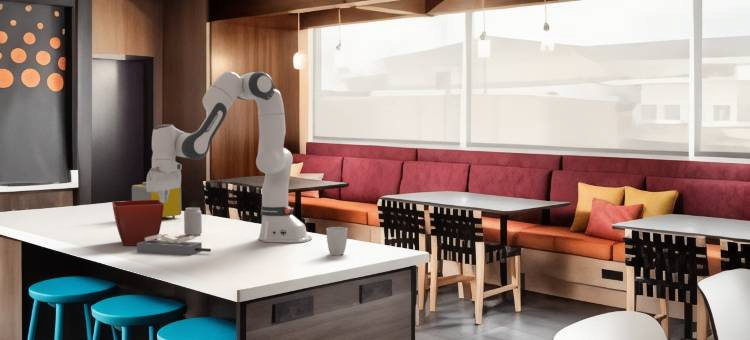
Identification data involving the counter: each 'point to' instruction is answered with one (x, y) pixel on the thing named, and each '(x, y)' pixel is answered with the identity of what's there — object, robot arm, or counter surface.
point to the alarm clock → (170, 206)
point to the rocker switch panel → (170, 247)
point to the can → (192, 221)
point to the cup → (336, 240)
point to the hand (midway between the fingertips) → (163, 201)
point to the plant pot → (137, 219)
